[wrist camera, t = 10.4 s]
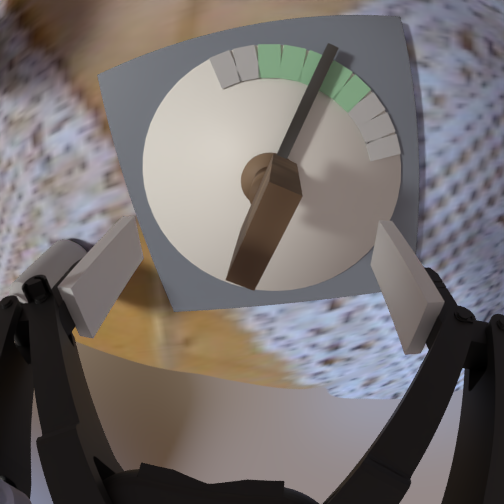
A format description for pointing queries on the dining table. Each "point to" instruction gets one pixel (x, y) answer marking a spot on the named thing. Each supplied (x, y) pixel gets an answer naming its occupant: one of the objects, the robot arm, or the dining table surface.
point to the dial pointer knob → (272, 192)
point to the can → (49, 266)
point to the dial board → (268, 141)
